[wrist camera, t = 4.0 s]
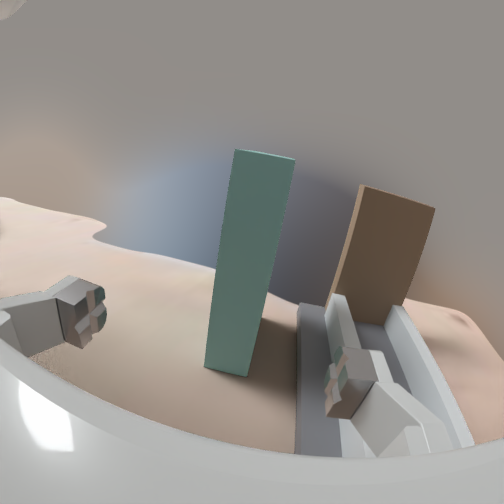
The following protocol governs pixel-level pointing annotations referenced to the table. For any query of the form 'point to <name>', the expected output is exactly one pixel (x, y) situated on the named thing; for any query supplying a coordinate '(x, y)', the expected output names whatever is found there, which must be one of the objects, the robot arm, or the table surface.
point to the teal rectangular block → (246, 257)
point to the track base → (370, 325)
